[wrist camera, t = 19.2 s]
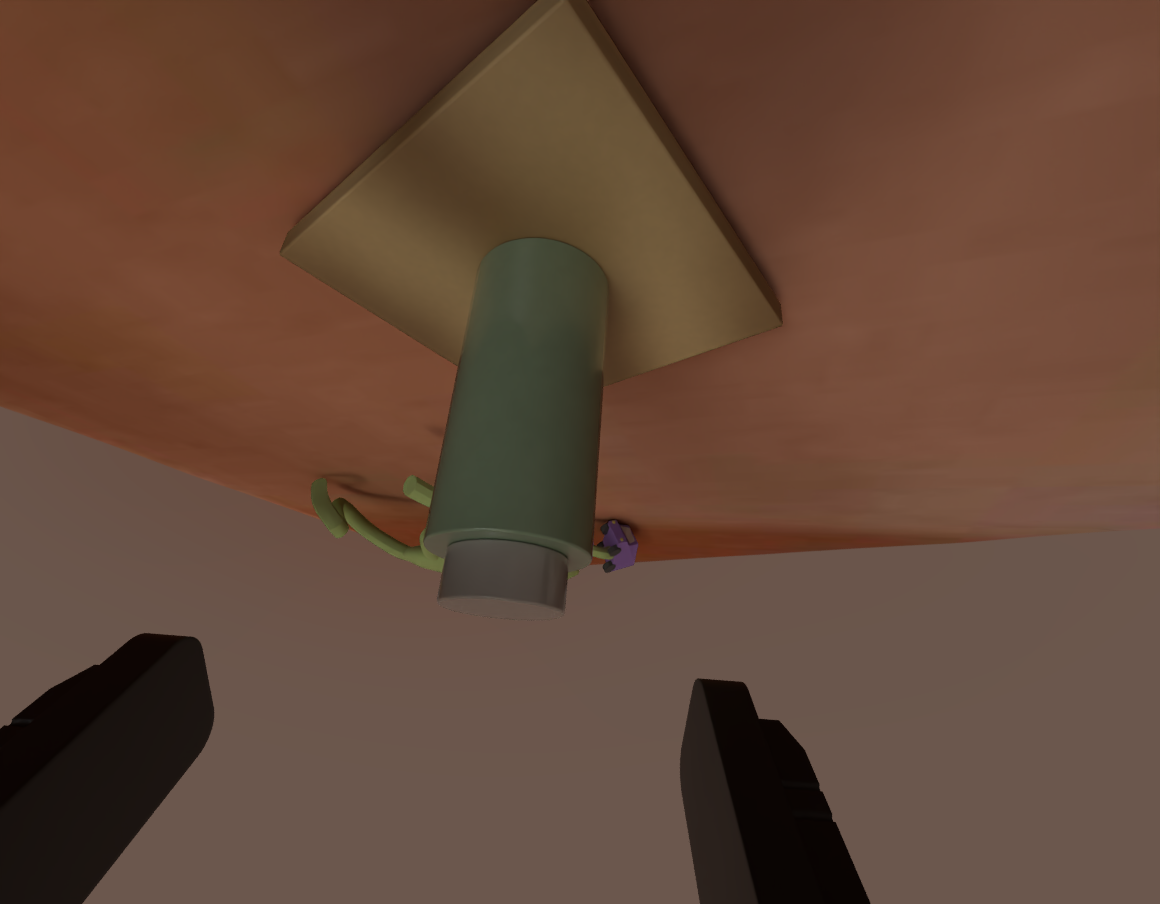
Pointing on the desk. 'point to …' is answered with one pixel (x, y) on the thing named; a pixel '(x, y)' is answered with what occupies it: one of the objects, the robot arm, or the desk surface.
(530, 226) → the plate
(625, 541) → the figurine
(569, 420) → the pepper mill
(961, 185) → the desk surface
